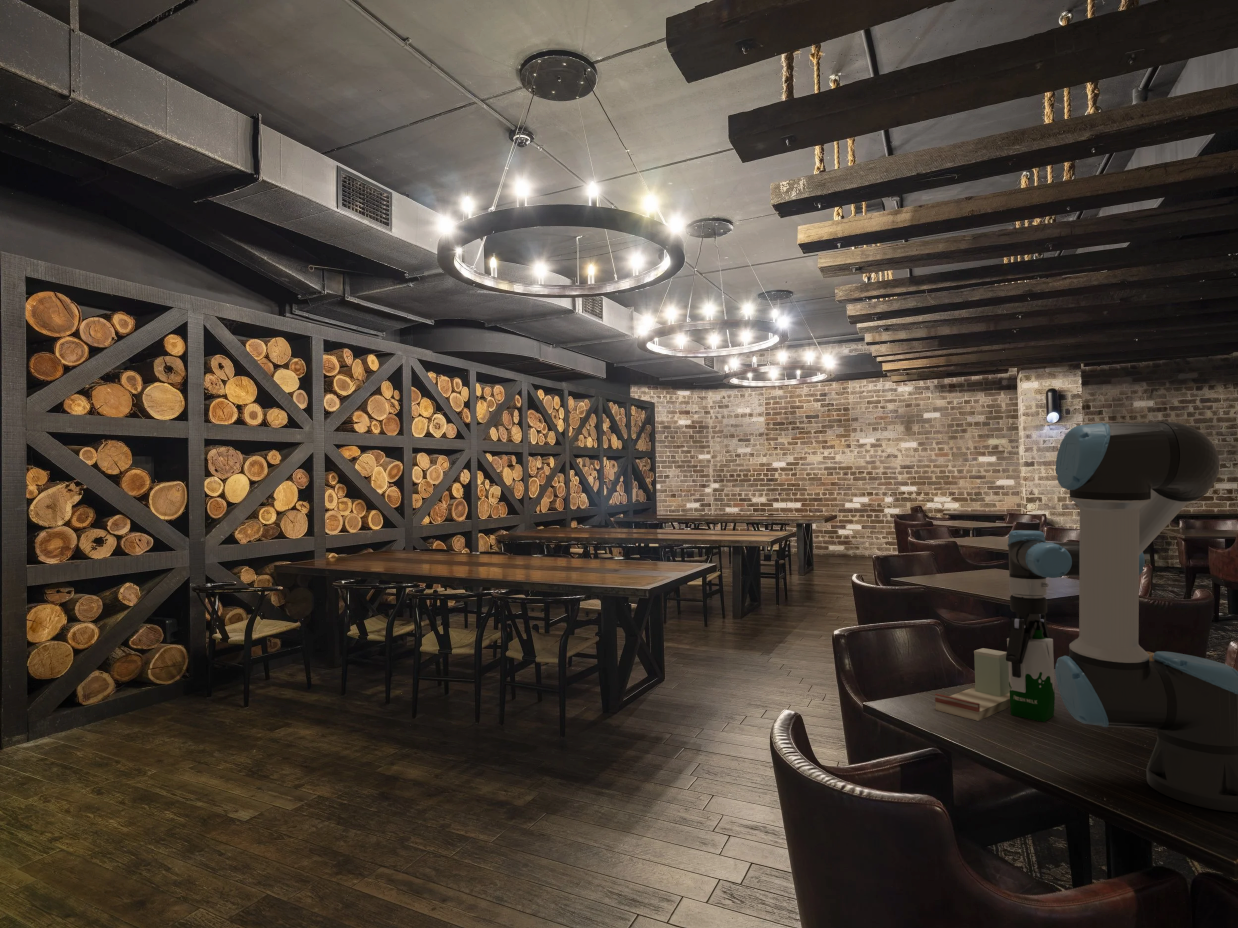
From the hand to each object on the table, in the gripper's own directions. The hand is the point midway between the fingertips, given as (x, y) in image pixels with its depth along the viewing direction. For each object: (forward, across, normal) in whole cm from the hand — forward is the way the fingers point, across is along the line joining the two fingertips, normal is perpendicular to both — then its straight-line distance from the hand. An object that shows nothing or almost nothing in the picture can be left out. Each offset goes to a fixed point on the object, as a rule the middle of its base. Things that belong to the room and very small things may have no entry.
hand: (1030, 685), depth 156 cm
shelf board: (+7, -3, +11) cm, 13 cm away
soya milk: (+7, 0, 0) cm, 7 cm away
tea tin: (+5, +5, +11) cm, 13 cm away
